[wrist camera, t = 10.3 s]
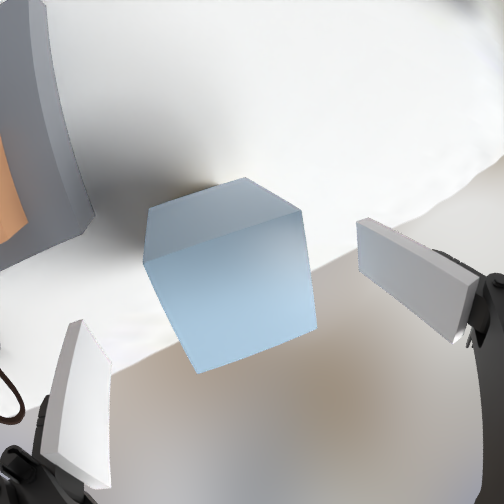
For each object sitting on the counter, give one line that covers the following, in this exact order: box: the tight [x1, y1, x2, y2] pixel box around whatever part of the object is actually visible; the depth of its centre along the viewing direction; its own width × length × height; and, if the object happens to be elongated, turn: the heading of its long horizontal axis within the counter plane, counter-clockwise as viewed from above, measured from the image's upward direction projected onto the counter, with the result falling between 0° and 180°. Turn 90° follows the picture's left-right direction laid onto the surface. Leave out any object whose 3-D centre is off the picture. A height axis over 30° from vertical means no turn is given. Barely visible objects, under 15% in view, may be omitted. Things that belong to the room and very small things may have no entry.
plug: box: [143, 177, 317, 374], centre depth 17 cm, size 6×6×12 cm
